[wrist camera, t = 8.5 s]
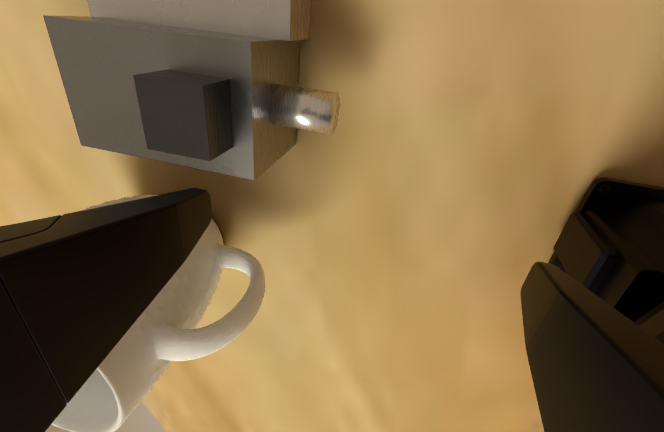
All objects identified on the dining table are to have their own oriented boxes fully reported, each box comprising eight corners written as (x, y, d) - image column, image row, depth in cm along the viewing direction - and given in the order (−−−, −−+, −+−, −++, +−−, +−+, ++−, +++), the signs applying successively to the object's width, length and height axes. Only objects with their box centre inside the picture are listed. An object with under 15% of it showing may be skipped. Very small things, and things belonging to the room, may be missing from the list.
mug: (287, 176, 23) (151, 317, 12) (300, 300, 28) (216, 477, 17) (108, 165, 26) (-126, 266, 15) (150, 277, 32) (-1, 411, 21)
